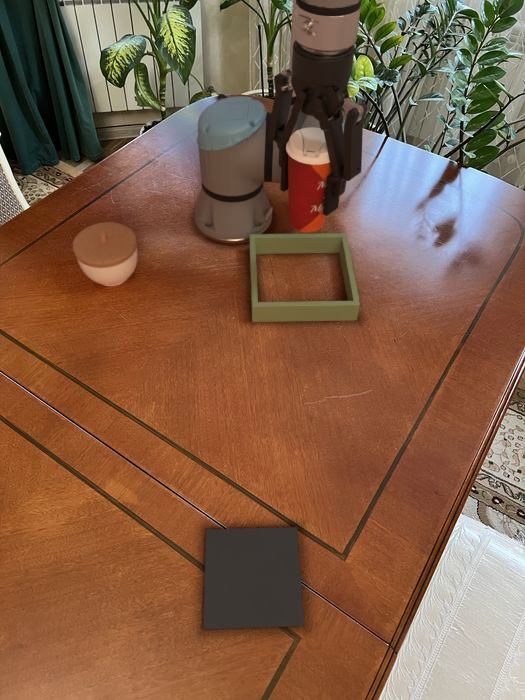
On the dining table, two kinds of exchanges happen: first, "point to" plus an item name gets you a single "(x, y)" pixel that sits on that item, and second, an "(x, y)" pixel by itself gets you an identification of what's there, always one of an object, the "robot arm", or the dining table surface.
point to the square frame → (304, 308)
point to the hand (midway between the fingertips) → (308, 198)
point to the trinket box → (106, 252)
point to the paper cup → (307, 178)
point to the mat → (252, 579)
